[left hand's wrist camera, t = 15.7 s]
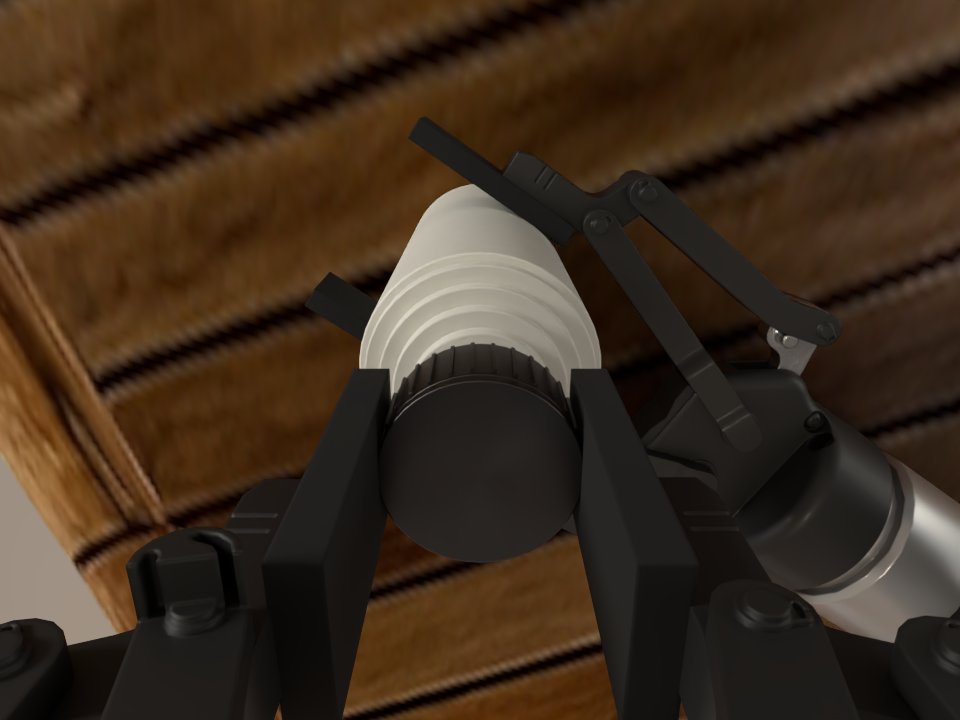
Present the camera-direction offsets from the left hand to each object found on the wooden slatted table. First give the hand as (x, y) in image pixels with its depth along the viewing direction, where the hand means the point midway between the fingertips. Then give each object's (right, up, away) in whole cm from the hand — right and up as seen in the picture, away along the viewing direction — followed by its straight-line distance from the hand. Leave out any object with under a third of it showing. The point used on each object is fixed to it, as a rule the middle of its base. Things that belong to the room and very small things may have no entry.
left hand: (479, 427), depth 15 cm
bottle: (0, +7, +17) cm, 18 cm away
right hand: (-4, +7, +10) cm, 13 cm away
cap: (0, -1, -2) cm, 2 cm away
